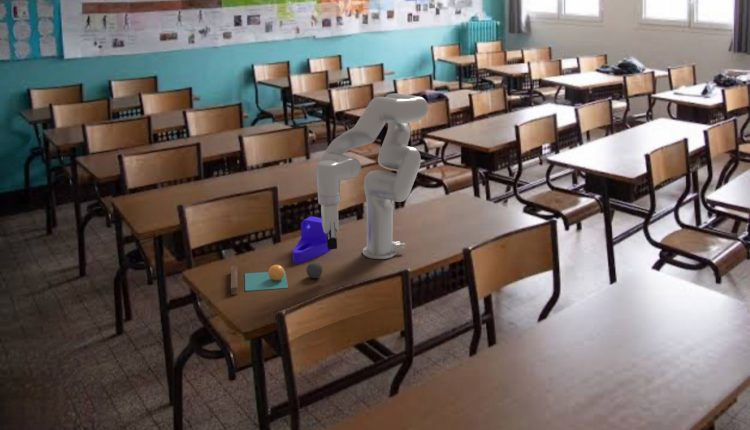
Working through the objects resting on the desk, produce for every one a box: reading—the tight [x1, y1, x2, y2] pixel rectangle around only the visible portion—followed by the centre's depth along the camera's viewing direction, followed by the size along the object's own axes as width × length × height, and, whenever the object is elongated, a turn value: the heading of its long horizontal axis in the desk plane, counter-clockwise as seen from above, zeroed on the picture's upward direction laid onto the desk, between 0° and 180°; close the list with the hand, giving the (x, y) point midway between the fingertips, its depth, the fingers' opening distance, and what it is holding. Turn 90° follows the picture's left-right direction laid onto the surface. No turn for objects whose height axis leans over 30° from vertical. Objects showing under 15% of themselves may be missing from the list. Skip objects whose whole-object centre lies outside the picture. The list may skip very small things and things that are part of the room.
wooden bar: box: [230, 265, 239, 296], centre depth 243 cm, size 2×18×2 cm, turn 10°
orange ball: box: [267, 264, 286, 281], centre depth 245 cm, size 6×6×6 cm
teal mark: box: [244, 270, 289, 292], centre depth 245 cm, size 14×14×1 cm
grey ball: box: [305, 261, 323, 279], centre depth 247 cm, size 6×6×6 cm
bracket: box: [292, 216, 333, 264], centre depth 266 cm, size 18×11×12 cm, turn 154°
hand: (332, 248), depth 247 cm, fingers closed
